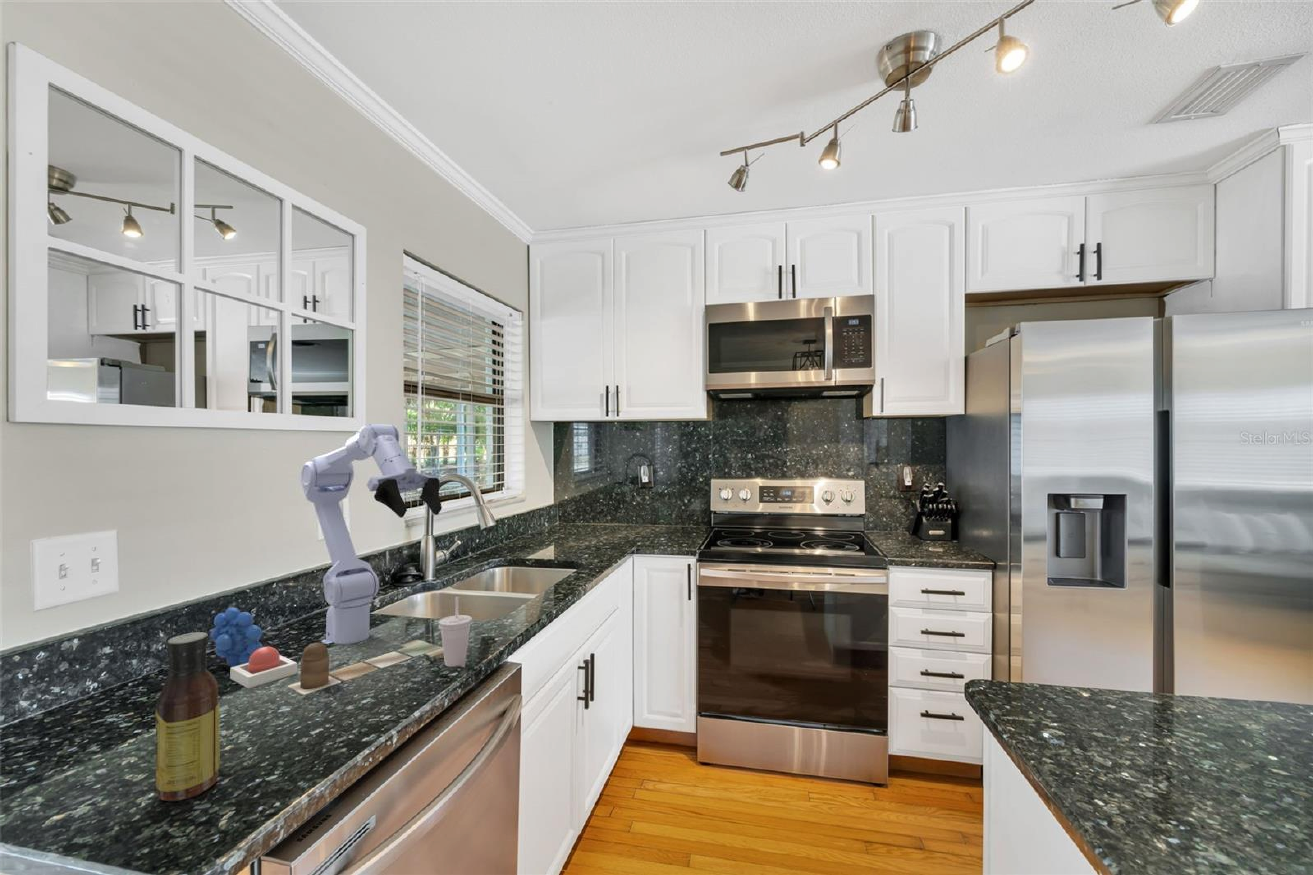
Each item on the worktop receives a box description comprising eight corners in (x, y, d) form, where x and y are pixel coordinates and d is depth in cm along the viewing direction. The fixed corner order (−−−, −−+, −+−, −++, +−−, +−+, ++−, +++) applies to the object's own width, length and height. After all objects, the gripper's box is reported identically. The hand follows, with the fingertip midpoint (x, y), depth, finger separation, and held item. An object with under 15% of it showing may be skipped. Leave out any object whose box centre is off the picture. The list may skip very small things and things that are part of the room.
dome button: (243, 674, 103) (244, 648, 103) (272, 665, 107) (273, 641, 107) (254, 680, 100) (255, 653, 100) (284, 671, 104) (284, 646, 104)
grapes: (190, 673, 107) (191, 612, 107) (224, 660, 114) (224, 602, 114) (240, 678, 105) (241, 615, 105) (271, 664, 112) (272, 605, 112)
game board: (278, 688, 100) (278, 683, 100) (417, 643, 124) (417, 638, 124) (309, 705, 94) (309, 699, 94) (450, 654, 117) (450, 649, 117)
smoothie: (477, 662, 113) (477, 594, 113) (463, 675, 106) (463, 602, 107) (447, 661, 113) (448, 593, 114) (432, 673, 107) (432, 602, 107)
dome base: (230, 683, 102) (230, 667, 102) (278, 669, 109) (278, 654, 109) (248, 694, 98) (248, 677, 98) (297, 678, 105) (297, 662, 105)
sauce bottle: (181, 776, 73) (184, 628, 74) (230, 774, 74) (233, 626, 74) (139, 808, 67) (143, 645, 67) (194, 805, 67) (196, 643, 68)
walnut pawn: (295, 685, 99) (296, 644, 99) (321, 677, 103) (322, 637, 103) (307, 691, 97) (308, 649, 97) (333, 682, 101) (333, 642, 101)
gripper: (368, 450, 107) (395, 500, 101) (434, 452, 119) (461, 496, 113) (354, 476, 110) (379, 526, 104) (420, 476, 122) (446, 520, 116)
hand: (421, 512), depth 109 cm, fingers open, 7 cm apart
